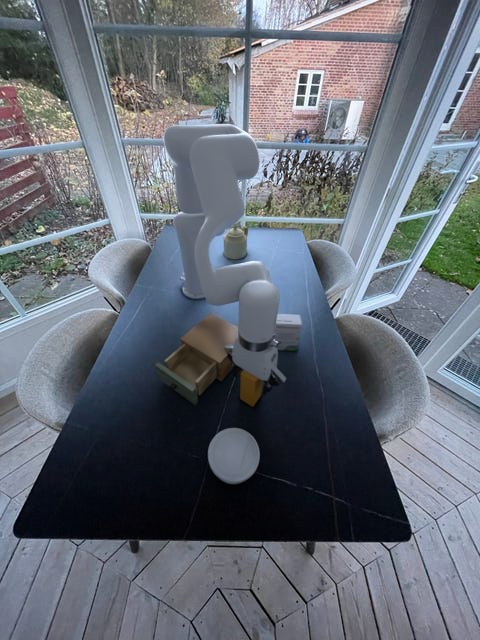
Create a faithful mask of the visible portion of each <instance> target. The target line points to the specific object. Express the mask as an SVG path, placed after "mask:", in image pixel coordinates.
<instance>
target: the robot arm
mask: <svg viewBox="0 0 480 640" xmlns="http://www.w3.org/2000/svg"><path fill="white" fill-rule="evenodd" d="M163 145H164V150H165V152H166V155H167V157H168V158H169V161H170V162H171V164H172V168H173V170H174V171H173V172H174V184H175V196H176V203H177V206H178V208H179V210H180V211H179V212H178V213H177V214H176V215H174V217H173V227H174V232H175V234H176V237H177V241H178V245H179V250H180V255H181V262H182V269H183V272H182V273H181V276H180V277H179V280H180V281H182V282H183V286H182V293H183V295H184V296H185V297H187V298H190V299H193V300H201V299H202V300H203V299H205V300H206V302H207V303H208V304H209V305H212V306H214V307H219V306H226V305H229V304H232V303H236V302H238V325H237V327H238V333H237V335H236V338H235V341H234V345H226V346H225V347H224V350H225V352H226V354H227V357H228V358H229V360H230V361H231V363H230V364H231V366H233V369H232V377H234V378H237V377H238V376H239V374H241V373H242V371H243V370H246V371H247V372H249V373H251V374H252V375H254V376H256V377H258V378H259V379H261V380H263V383H264V384H263V385H262V392H261V395H262V396H266V395H267V394H268V393H271V392H272V390H273V387H278V386H279V385H284V384H285V383H286V382H287V381H286V380H287V377H286V376H285V375H284V374H283V372H282V371H280V370H279V369H278V359H279V352H278V351H279V350H278V349H277V347H278V345H279V342H278V341H276V340H275V334H274V332H275V326H276V320H277V314H279V308H280V307H279V306H280V302H281V295H280V291H279V289H278V287H277V286H276V285H274V284H273V282H272V279H271V275H270V271H269V268H268V267H266V265H265V264H264V263H263V262H262V261H261V260H251V261H244V262H240V263H235V264H234V263H233V264H229V265H224V266H219V267H215V268H214V267H213V266H212V263H211V259H210V247H211V243H212V241H213V240H214V239H215V237H219V236H223V234H225V232H226V229H228V228H230V227H232V226H234V224H236V223H238V222H239V221H240V220H241V218H243V217H244V215H245V211H246V207H245V203H244V200H243V196H242V192H241V189H240V185H239V181H244V180H245V181H247V180H250V179H253V178H254V177H256V175H257V174H258V173H259V169H260V161H261V159H260V153H259V149H258V146H257V143H256V141H255V140H254V138H253V137H252V135H250V134H249V133H248V132H246V131H245V130H244V129H242V128H239V127H238V126H236V125H234V124H230V123H213V124H211V123H209V124H176V125H170V126H168V127H166V128H165V130H164V131H163Z"/></svg>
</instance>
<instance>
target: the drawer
mask: <svg viewBox="0 0 480 640" xmlns="http://www.w3.org/2000/svg"><path fill="white" fill-rule="evenodd" d="M164 364H165V366H164V365H163V364H162V363H160V362H157V363H155V364H154V367H155V370H156V372H157V376H158V377H159V378H158V379H159V380H160V381H161V382H163V384H165V385H166V386H168V388H169V389H171V390H172V391H175V392H176V393H178V394H179V395H180V396H182V397H183V398H184V399H185V400H187V401H189V402H190V403H191V404H193V405H194V406H196V405H197V404H198V403H199V399H198V396H201V395H202V394H203V392H205V391H206V389H207V388H208V387H209V386H210V385H211V384H212V383H213V382H214V381H215V380H216V379H217V378H216V377H217V376H218V375H219V374H218V363H216V362H215V361H213V360H211V359H210V358H208V357H206V356H205V355H203V354H201V353H200V352H198V351H196V350H195V349H193V348H192V347H190V346H188V345H187V344H185V343H184V344H183V345H182V346H181V345H180V346H179V347H178V348H177V349H176V350H175V351H173V352H172V353H171V354H170V355H169V356H168V357H167V358H166V359H164Z"/></svg>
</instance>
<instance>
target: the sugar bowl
mask: <svg viewBox="0 0 480 640" xmlns="http://www.w3.org/2000/svg"><path fill="white" fill-rule="evenodd" d="M232 227H233V228H230V229H228V230H226V231H225V232H226V233H225V234H224V235H223V255H224V256H225V257H226V258H228V259H231V260H240V259H243V258H245V257H246V256H247V247H248V235H249V228H248V226H246V225H242V226H241V228H238V224H236V223H234V224H233V225H232Z"/></svg>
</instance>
